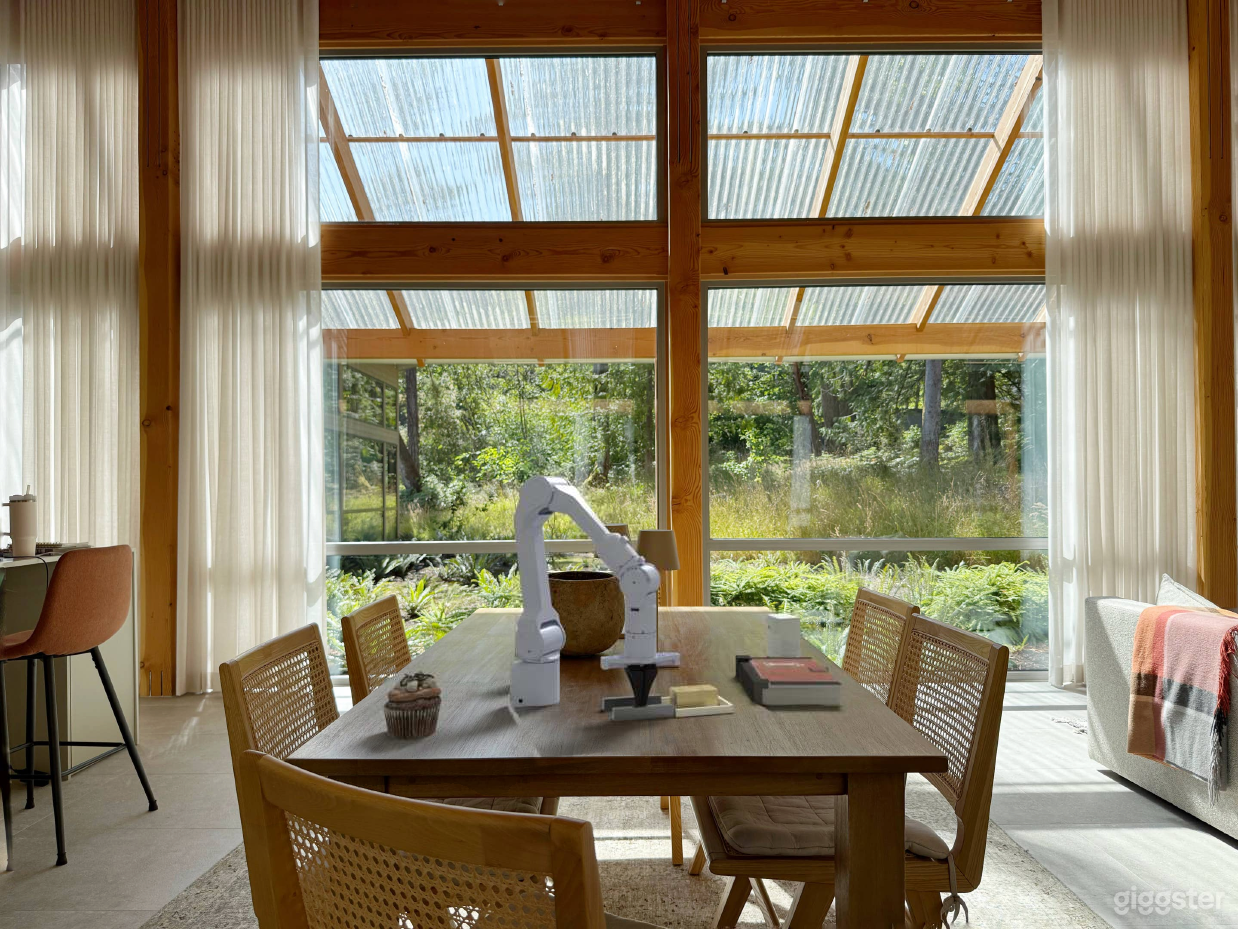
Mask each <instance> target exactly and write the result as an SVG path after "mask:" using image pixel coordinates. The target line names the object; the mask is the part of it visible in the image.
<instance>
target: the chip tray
mask: <svg viewBox="0 0 1238 929" xmlns="http://www.w3.org/2000/svg"><path fill="white" fill-rule="evenodd" d="M669 703H670V696H663V697H662V696H661V704H669ZM732 713H735V705H734V704H733V703H731V702H729V701H727V699H725V698H723V697H722V696H720V695H718V706H710V707H697V708H683V709H675V711H674V717H676V718H681V717H695V716H705V715H706V716H708V715H719V714H720V715H721V714H732Z"/></svg>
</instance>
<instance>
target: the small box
mask: <svg viewBox="0 0 1238 929" xmlns="http://www.w3.org/2000/svg"><path fill="white" fill-rule="evenodd" d="M765 616H766V653H767V654H766V657H802V642H801V641H802V639H801V636H802V635H801V617H798V616H795V615H792V614H789V613H767V614H766V615H765Z"/></svg>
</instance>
